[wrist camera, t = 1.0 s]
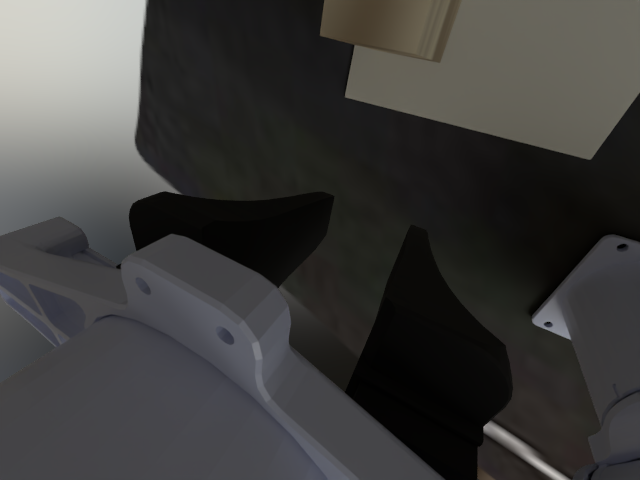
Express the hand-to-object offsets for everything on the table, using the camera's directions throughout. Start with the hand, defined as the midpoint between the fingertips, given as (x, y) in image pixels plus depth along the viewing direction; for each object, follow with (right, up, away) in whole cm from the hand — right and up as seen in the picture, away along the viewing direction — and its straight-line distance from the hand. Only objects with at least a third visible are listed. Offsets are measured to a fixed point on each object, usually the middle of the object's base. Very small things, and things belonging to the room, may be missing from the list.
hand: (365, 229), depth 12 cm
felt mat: (+7, +11, +3) cm, 14 cm away
